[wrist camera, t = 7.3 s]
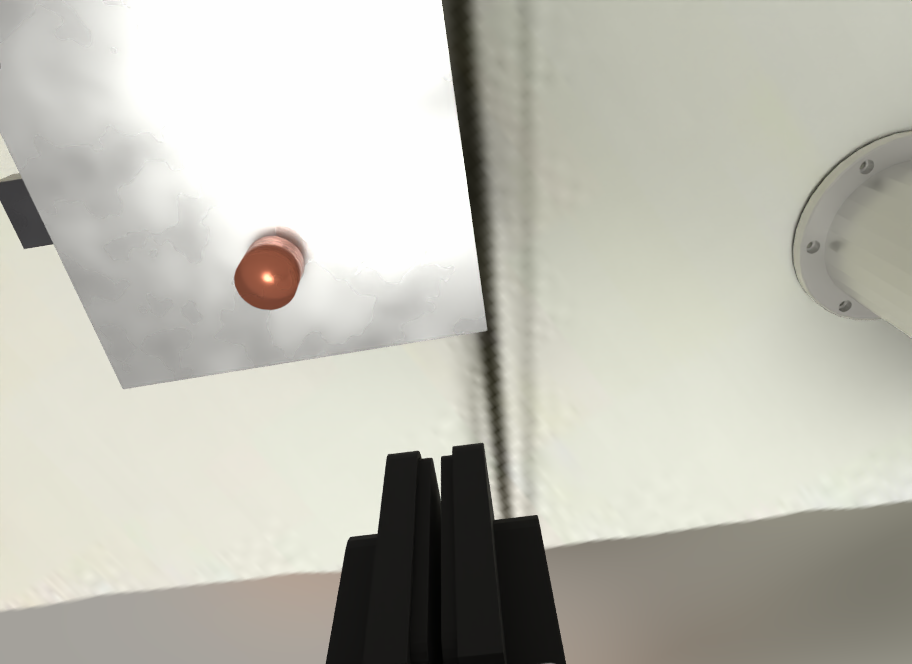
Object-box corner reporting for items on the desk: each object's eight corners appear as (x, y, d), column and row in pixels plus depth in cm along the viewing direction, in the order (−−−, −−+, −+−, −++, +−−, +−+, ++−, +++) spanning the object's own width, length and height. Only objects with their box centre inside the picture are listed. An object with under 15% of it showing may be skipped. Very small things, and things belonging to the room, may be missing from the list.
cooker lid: (403, -265, 20) (402, -303, 17) (484, 320, 30) (492, 352, 27) (-126, -175, 20) (-206, -198, 17) (131, 377, 30) (104, 414, 27)
